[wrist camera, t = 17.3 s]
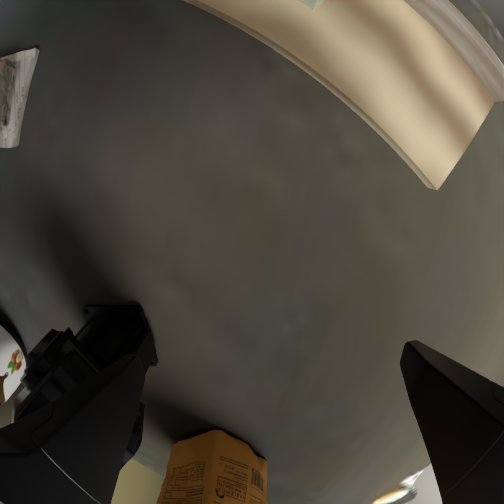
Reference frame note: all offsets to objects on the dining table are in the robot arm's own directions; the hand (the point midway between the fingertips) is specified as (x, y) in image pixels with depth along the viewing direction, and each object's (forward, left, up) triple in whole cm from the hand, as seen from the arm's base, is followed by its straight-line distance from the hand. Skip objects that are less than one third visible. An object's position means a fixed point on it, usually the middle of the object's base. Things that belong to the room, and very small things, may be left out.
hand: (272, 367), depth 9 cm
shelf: (+8, +16, -13) cm, 22 cm away
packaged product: (-29, +18, -14) cm, 37 cm away
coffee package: (-7, -28, -13) cm, 32 cm away
